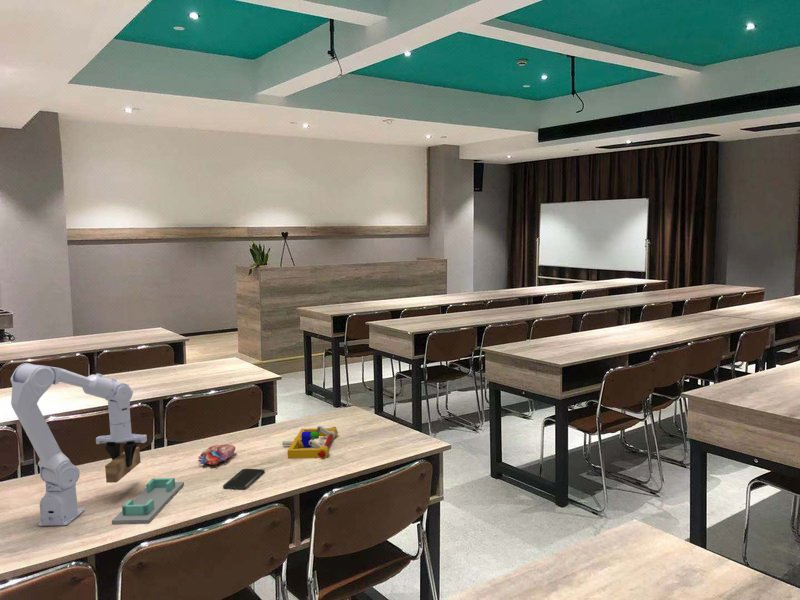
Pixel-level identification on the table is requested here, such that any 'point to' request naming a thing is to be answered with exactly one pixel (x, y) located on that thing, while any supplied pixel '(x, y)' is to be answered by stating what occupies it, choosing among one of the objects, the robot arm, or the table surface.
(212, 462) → the anatomical model
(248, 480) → the phone
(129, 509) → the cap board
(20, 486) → the table surface
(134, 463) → the slat
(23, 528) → the table surface
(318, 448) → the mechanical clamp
